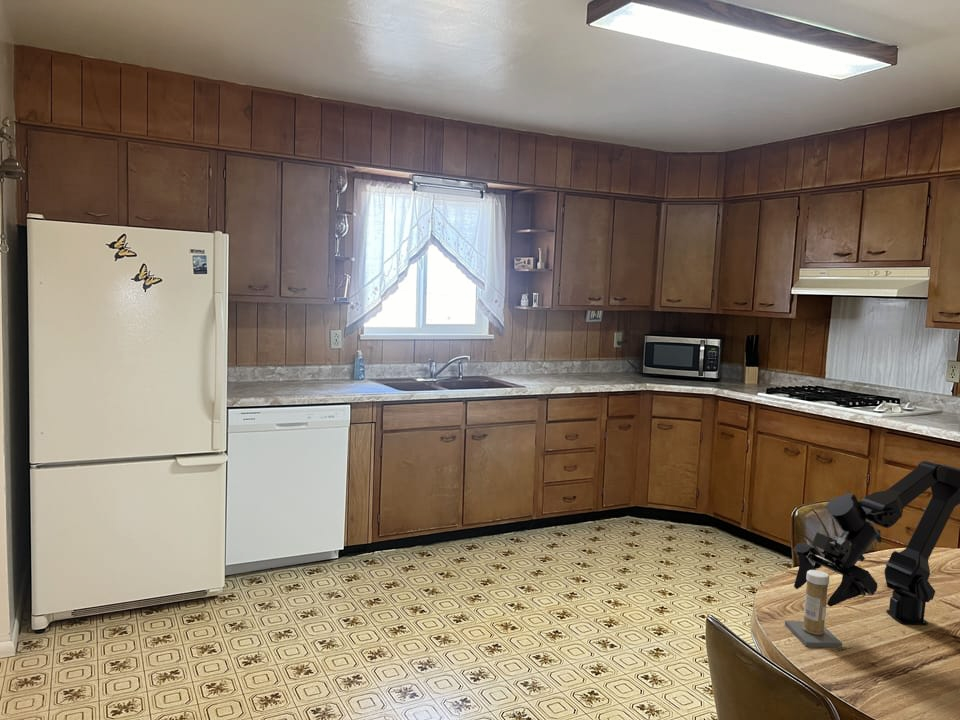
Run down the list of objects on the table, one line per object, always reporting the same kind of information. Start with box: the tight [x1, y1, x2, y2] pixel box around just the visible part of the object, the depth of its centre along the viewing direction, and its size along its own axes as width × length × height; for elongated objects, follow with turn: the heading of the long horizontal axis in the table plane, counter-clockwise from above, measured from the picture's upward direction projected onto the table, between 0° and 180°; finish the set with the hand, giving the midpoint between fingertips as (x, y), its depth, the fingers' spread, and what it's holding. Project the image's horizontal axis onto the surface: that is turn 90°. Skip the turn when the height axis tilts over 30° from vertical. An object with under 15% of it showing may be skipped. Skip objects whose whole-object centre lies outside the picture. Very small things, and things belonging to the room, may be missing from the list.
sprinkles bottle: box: [802, 569, 830, 635], centre depth 160 cm, size 5×5×13 cm
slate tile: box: [784, 620, 843, 648], centre depth 160 cm, size 8×10×1 cm
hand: (811, 596), depth 159 cm, fingers open, 9 cm apart
